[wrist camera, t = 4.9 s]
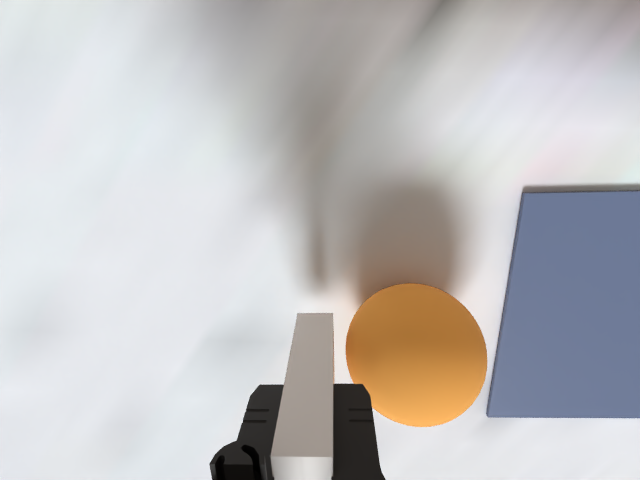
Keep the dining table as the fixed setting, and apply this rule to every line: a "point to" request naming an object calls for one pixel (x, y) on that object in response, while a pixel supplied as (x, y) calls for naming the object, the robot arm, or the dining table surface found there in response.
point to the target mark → (571, 309)
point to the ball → (416, 354)
